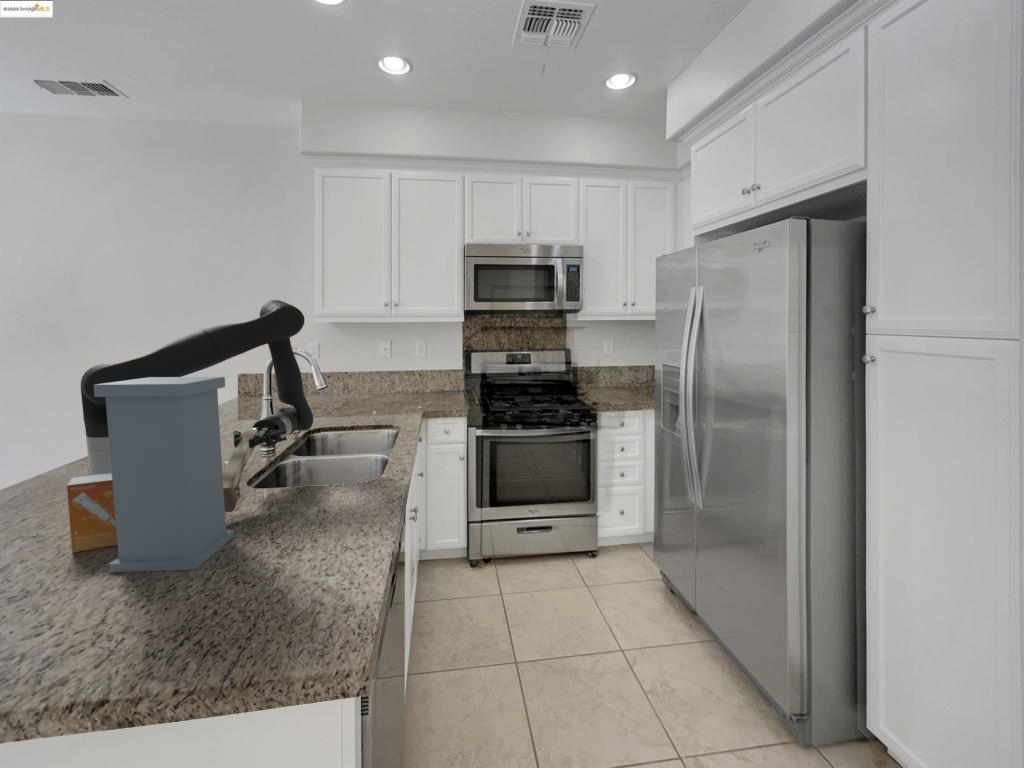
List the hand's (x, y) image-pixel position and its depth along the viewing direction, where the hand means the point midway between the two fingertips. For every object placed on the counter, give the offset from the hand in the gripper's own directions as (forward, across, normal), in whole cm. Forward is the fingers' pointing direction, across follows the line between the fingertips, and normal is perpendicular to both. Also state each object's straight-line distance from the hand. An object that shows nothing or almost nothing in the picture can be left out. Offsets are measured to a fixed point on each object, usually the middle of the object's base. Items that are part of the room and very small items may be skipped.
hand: (243, 443), depth 121 cm
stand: (+29, 0, +14) cm, 32 cm away
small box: (+23, -17, +14) cm, 32 cm away
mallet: (+5, 0, +6) cm, 8 cm away
